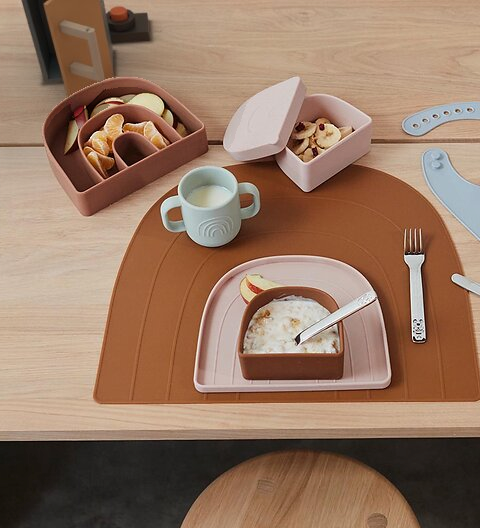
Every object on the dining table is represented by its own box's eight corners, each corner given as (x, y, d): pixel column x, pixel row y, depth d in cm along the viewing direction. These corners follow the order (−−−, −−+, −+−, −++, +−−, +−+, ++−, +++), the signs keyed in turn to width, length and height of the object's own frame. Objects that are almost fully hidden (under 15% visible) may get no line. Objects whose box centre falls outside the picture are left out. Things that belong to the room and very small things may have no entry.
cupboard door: (143, 88, 146) (125, -24, 128) (105, 128, 138) (80, 14, 120) (111, 79, 148) (89, -33, 130) (72, 117, 140) (43, 3, 122)
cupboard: (113, 78, 149) (91, -36, 130) (44, 83, 147) (12, -31, 129) (113, 51, 155) (92, -61, 136) (47, 56, 153) (16, -57, 135)
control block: (94, 45, 156) (91, 28, 153) (95, 25, 161) (91, 8, 158) (149, 41, 157) (147, 24, 154) (148, 21, 162) (146, 4, 159)
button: (111, 23, 155) (109, 15, 154) (111, 14, 157) (109, 6, 156) (127, 21, 155) (126, 14, 154) (127, 13, 158) (126, 5, 156)
